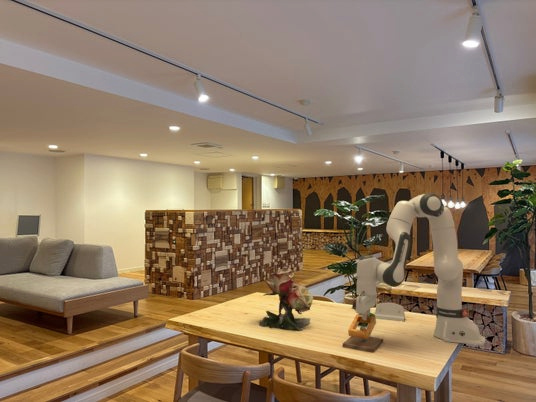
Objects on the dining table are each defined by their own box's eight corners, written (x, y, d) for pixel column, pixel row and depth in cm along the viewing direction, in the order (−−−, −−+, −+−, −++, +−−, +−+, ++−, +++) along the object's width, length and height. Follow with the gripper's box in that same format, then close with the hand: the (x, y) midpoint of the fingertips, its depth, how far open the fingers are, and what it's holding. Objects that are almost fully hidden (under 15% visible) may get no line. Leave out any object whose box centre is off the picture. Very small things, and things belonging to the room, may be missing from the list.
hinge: (373, 318, 225) (374, 300, 228) (375, 319, 229) (375, 301, 232) (404, 321, 218) (405, 303, 222) (405, 322, 222) (405, 304, 226)
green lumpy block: (364, 334, 210) (365, 321, 206) (354, 329, 214) (355, 316, 210) (375, 321, 218) (376, 308, 214) (366, 317, 222) (366, 304, 218)
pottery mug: (353, 306, 254) (359, 295, 254) (365, 315, 249) (372, 304, 249) (347, 305, 244) (354, 294, 244) (360, 314, 239) (367, 303, 239)
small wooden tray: (376, 322, 185) (375, 317, 185) (368, 339, 175) (367, 333, 174) (357, 319, 190) (356, 314, 189) (348, 335, 179) (348, 330, 179)
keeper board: (382, 342, 184) (382, 324, 184) (373, 352, 170) (373, 333, 171) (353, 337, 191) (353, 320, 192) (342, 347, 177) (342, 328, 178)
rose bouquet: (309, 332, 199) (309, 272, 200) (255, 327, 208) (255, 270, 209) (319, 319, 223) (319, 266, 224) (270, 314, 232) (270, 263, 233)
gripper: (366, 294, 176) (365, 325, 176) (378, 287, 194) (378, 315, 193) (352, 292, 179) (352, 323, 179) (365, 285, 197) (365, 313, 197)
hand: (365, 319), depth 186 cm, fingers closed on small wooden tray, 2 cm apart
